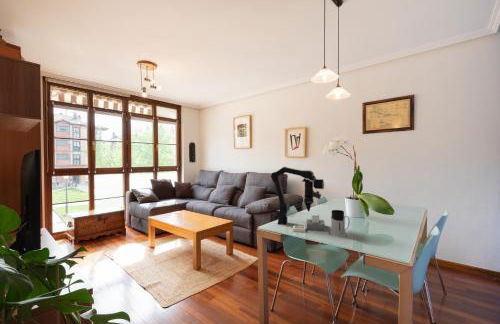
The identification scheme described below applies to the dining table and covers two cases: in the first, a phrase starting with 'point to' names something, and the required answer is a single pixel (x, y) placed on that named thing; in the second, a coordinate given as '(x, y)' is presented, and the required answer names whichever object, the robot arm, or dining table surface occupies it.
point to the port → (315, 225)
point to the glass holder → (338, 223)
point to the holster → (299, 228)
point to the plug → (315, 218)
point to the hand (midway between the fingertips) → (308, 209)
